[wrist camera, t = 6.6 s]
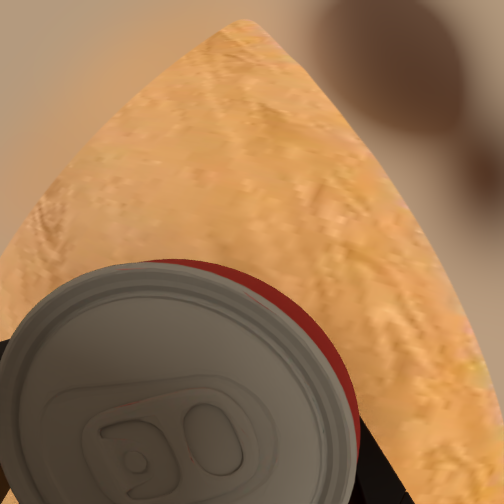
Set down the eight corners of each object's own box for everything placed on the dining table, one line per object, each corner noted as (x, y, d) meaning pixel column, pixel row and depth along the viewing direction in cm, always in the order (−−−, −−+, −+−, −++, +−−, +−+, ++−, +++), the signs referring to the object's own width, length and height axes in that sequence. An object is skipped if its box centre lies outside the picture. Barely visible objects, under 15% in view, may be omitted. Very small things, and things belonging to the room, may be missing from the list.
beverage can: (130, 357, 15) (-55, 293, 4) (252, 314, 16) (285, 159, 5) (177, 476, 12) (74, 620, 1) (303, 433, 14) (448, 531, 2)
